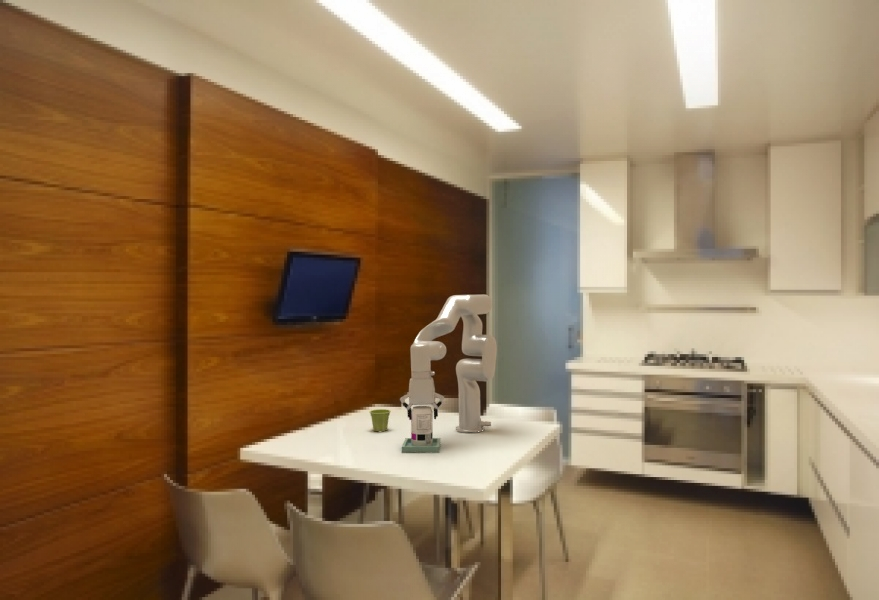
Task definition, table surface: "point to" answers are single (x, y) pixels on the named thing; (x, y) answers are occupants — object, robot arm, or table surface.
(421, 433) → the supplement can
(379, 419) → the plant pot
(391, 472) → the table surface
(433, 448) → the tray
